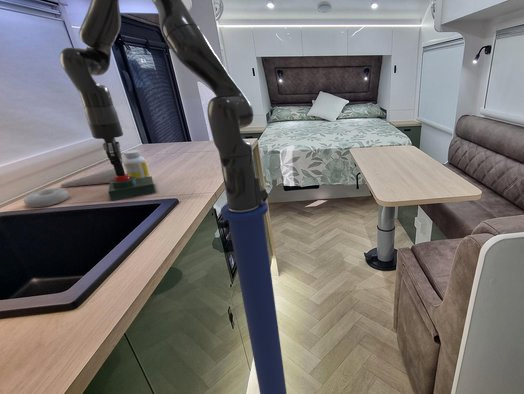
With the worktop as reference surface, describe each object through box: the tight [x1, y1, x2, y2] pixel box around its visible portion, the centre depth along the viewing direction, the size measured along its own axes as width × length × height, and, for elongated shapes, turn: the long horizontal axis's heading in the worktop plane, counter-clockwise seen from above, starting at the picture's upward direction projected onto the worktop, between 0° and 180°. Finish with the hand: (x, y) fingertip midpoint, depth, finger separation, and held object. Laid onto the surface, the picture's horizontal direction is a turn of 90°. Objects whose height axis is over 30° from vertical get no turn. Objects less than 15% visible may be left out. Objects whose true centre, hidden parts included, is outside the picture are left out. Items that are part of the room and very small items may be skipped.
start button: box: [114, 173, 130, 182], centre depth 96 cm, size 4×4×2 cm
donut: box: [23, 187, 69, 208], centre depth 90 cm, size 10×4×10 cm
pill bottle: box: [122, 149, 150, 179], centre depth 106 cm, size 6×6×12 cm
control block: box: [107, 175, 156, 202], centre depth 98 cm, size 12×10×5 cm
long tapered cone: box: [60, 167, 116, 188], centre depth 104 cm, size 6×6×19 cm
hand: (121, 175), depth 95 cm, fingers closed
